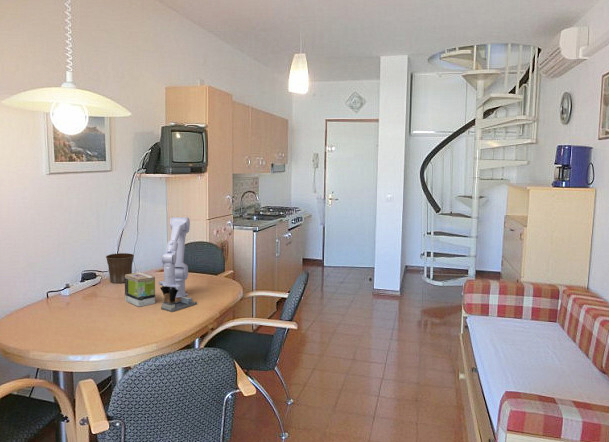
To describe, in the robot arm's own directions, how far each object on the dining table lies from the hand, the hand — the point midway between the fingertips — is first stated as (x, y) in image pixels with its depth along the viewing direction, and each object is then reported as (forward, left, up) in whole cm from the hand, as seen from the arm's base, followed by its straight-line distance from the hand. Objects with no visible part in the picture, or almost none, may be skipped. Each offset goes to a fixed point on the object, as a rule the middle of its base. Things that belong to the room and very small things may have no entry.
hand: (169, 300), depth 251 cm
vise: (+8, -1, -2) cm, 8 cm away
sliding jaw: (+8, +4, -1) cm, 9 cm away
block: (0, 0, -1) cm, 1 cm away
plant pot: (-59, +12, -2) cm, 60 cm away
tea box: (-14, -8, -2) cm, 16 cm away
